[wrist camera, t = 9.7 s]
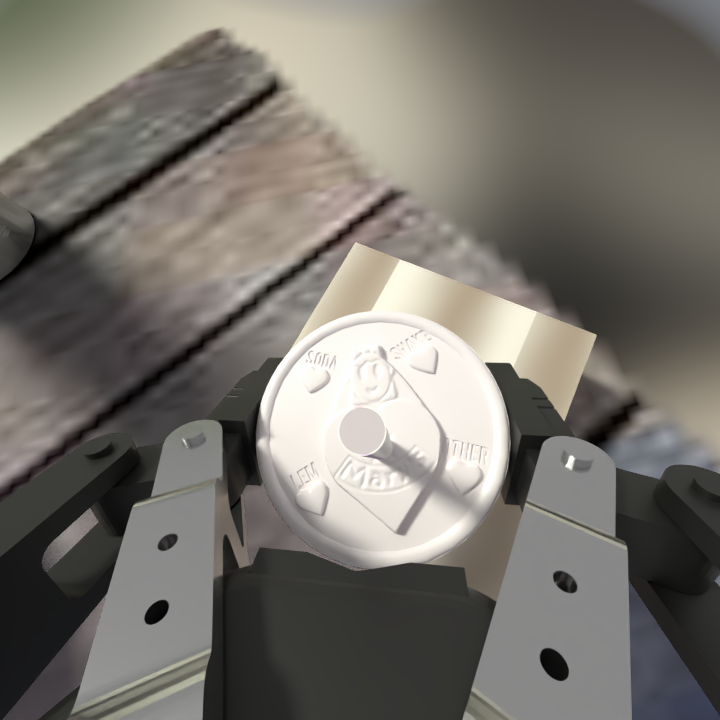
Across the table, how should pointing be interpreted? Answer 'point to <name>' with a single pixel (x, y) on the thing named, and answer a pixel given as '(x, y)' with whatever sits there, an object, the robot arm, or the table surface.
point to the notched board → (492, 344)
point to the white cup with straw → (383, 440)
